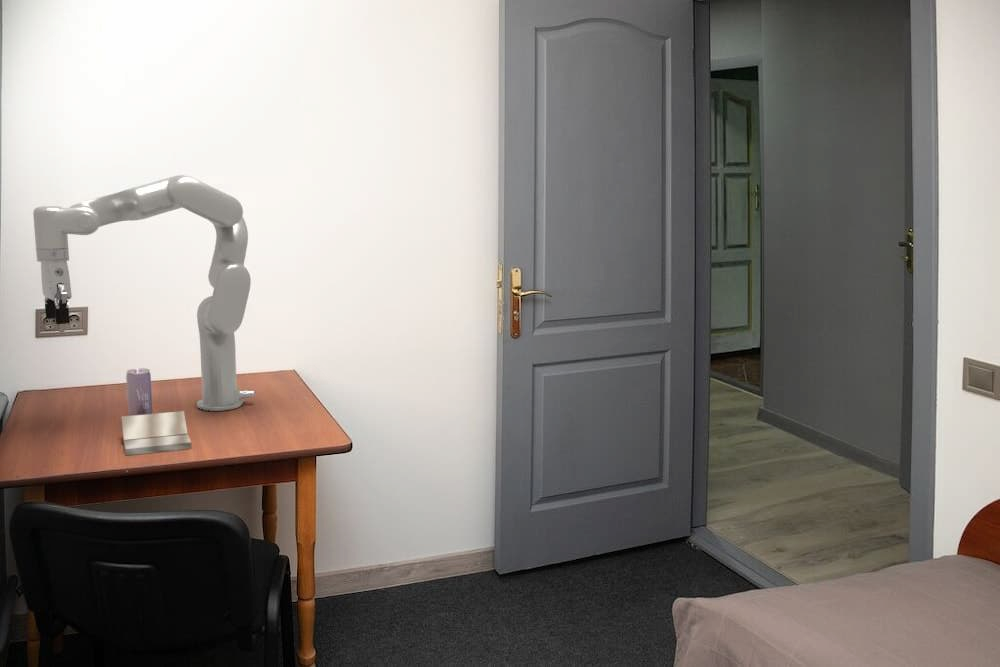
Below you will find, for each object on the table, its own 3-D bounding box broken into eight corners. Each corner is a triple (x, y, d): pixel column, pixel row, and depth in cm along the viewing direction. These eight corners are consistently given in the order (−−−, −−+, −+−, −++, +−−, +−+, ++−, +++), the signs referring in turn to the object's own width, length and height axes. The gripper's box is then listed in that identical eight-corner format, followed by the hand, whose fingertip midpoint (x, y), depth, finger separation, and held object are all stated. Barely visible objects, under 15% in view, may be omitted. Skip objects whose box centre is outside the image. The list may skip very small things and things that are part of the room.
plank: (183, 415, 244) (183, 410, 243) (187, 437, 238) (187, 433, 237) (121, 420, 238) (121, 416, 237) (124, 444, 232) (123, 439, 231)
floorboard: (187, 439, 237) (187, 433, 237) (191, 448, 230) (191, 442, 230) (124, 445, 231) (123, 439, 231) (125, 455, 224) (125, 449, 224)
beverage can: (148, 421, 252) (145, 367, 249) (156, 426, 248) (153, 371, 245) (126, 424, 249) (122, 369, 246) (133, 430, 244) (130, 374, 241)
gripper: (77, 257, 236) (82, 324, 239) (59, 251, 249) (64, 314, 252) (45, 259, 231) (50, 327, 234) (28, 252, 244) (33, 317, 247)
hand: (57, 320), depth 243 cm, fingers open, 9 cm apart
